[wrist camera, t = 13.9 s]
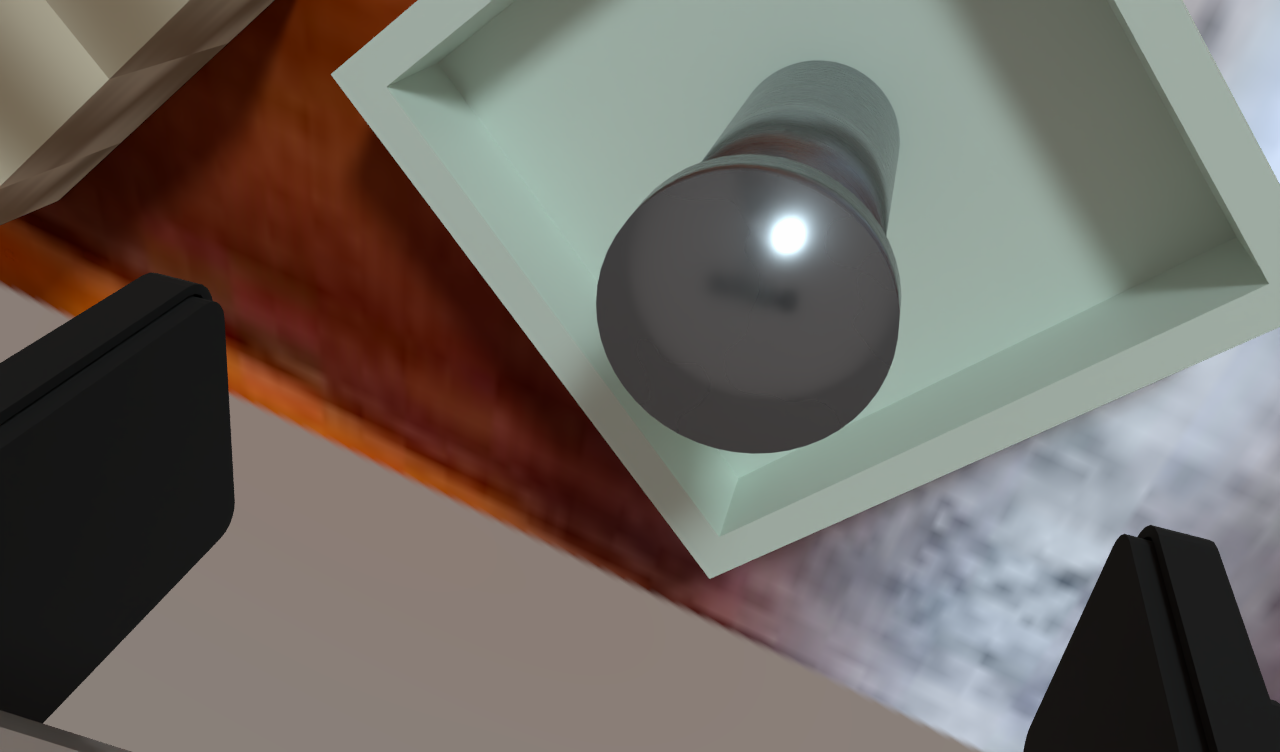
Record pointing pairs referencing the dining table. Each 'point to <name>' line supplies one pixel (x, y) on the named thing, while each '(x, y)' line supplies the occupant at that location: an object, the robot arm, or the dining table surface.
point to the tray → (918, 223)
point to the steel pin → (764, 270)
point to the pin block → (93, 81)
